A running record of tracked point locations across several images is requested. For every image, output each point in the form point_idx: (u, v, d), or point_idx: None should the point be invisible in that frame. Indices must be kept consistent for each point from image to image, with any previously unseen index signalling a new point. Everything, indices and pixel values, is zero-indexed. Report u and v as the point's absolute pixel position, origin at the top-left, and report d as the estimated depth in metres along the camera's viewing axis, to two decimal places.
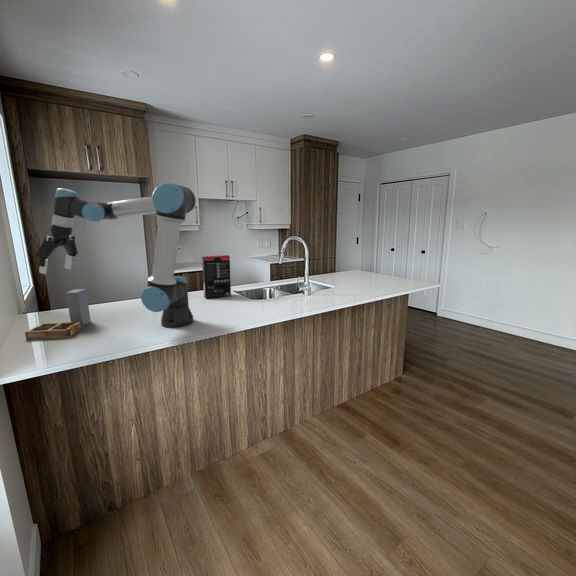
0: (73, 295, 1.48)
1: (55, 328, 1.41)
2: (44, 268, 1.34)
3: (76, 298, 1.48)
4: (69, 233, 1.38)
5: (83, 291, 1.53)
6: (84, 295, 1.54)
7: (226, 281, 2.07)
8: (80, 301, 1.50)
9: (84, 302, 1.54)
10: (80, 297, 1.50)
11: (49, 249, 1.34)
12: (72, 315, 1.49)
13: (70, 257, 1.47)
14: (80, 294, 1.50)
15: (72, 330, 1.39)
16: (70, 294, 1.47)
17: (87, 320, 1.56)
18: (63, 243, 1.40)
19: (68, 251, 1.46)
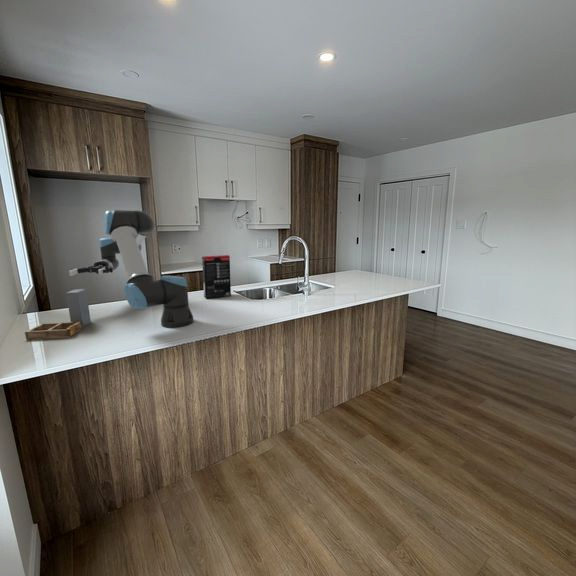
0: (73, 295, 1.48)
1: (55, 328, 1.41)
2: None
3: (76, 298, 1.48)
4: (100, 261, 1.76)
5: (83, 291, 1.53)
6: (84, 295, 1.54)
7: (226, 281, 2.07)
8: (80, 301, 1.50)
9: (84, 302, 1.54)
10: (80, 297, 1.50)
11: None
12: (72, 315, 1.49)
13: None
14: (80, 294, 1.50)
15: (72, 330, 1.39)
16: (70, 294, 1.47)
17: (87, 320, 1.56)
18: (97, 267, 1.72)
19: None
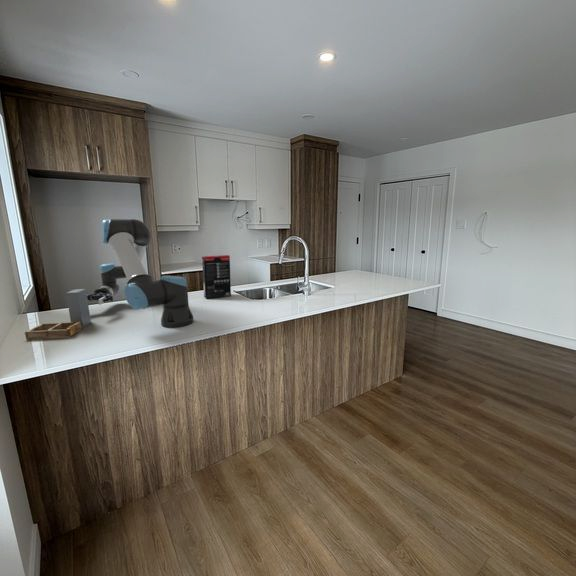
0: (73, 295, 1.48)
1: (55, 328, 1.41)
2: None
3: (76, 298, 1.48)
4: (100, 288, 1.76)
5: (83, 291, 1.53)
6: (84, 295, 1.54)
7: (226, 281, 2.07)
8: (80, 301, 1.50)
9: (84, 302, 1.54)
10: (80, 297, 1.50)
11: None
12: (72, 315, 1.49)
13: None
14: (80, 294, 1.50)
15: (72, 330, 1.39)
16: (70, 294, 1.47)
17: (87, 320, 1.56)
18: (98, 294, 1.72)
19: None
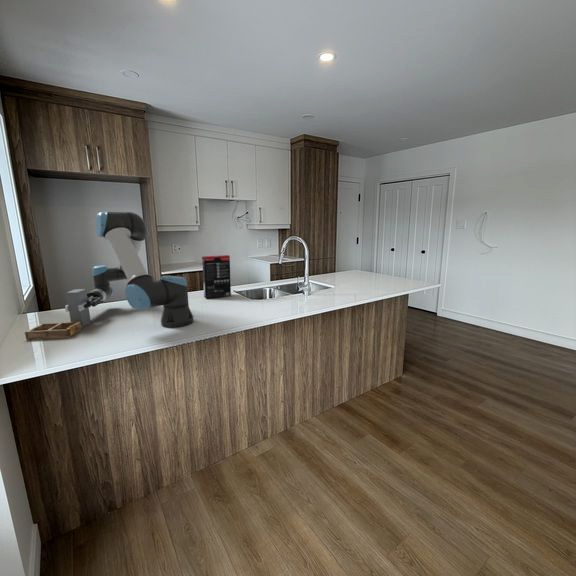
0: (73, 295, 1.48)
1: (55, 328, 1.41)
2: None
3: (76, 298, 1.48)
4: (92, 291, 1.67)
5: (83, 291, 1.53)
6: (84, 295, 1.54)
7: (226, 281, 2.07)
8: (80, 301, 1.50)
9: (84, 302, 1.54)
10: (80, 297, 1.50)
11: None
12: (72, 315, 1.49)
13: None
14: (80, 294, 1.50)
15: (72, 330, 1.39)
16: (70, 294, 1.47)
17: (87, 320, 1.56)
18: None
19: None
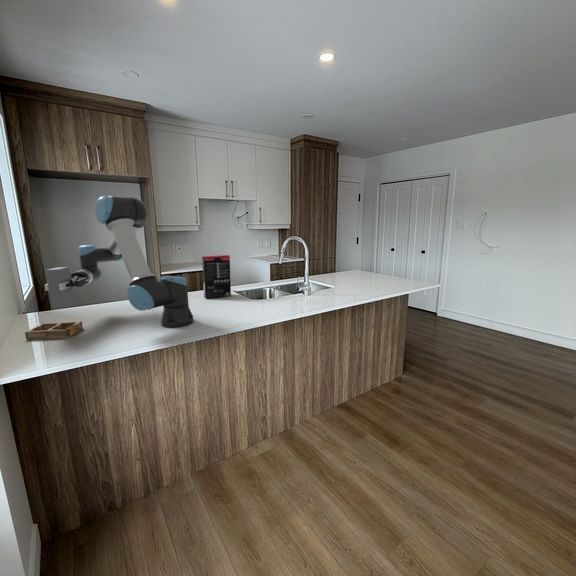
0: (53, 272, 1.36)
1: (55, 328, 1.41)
2: None
3: (57, 276, 1.36)
4: (77, 271, 1.55)
5: (65, 269, 1.41)
6: (66, 273, 1.42)
7: (226, 281, 2.07)
8: (62, 279, 1.38)
9: None
10: (61, 275, 1.38)
11: None
12: (53, 294, 1.37)
13: None
14: (61, 272, 1.38)
15: (72, 330, 1.39)
16: (50, 271, 1.35)
17: (70, 300, 1.44)
18: None
19: None
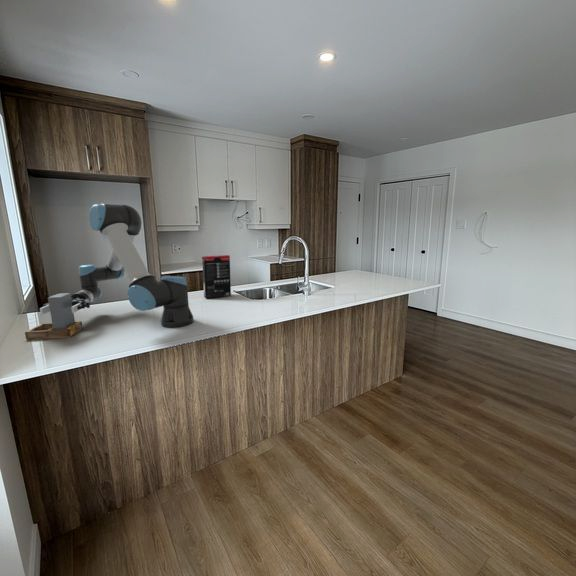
0: (55, 300, 1.35)
1: None
2: None
3: (59, 303, 1.36)
4: (78, 292, 1.54)
5: (67, 295, 1.41)
6: (68, 300, 1.42)
7: (226, 281, 2.07)
8: (64, 306, 1.38)
9: (68, 307, 1.42)
10: (63, 302, 1.38)
11: None
12: (55, 321, 1.37)
13: None
14: (63, 299, 1.38)
15: (72, 330, 1.39)
16: (52, 299, 1.35)
17: None
18: (74, 300, 1.50)
19: None
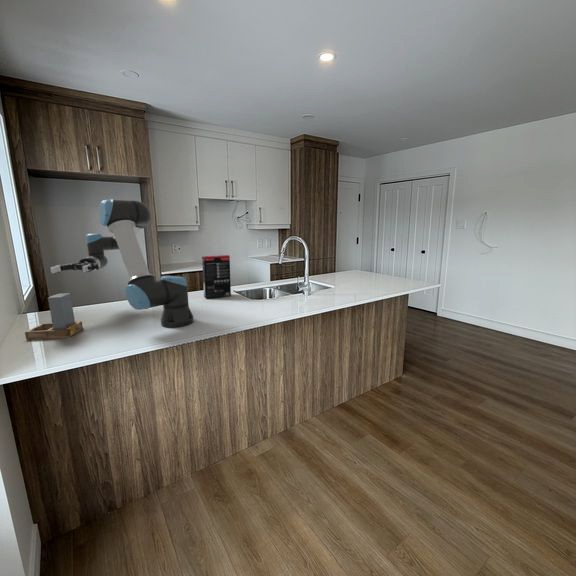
0: (55, 300, 1.35)
1: None
2: None
3: (59, 303, 1.36)
4: (86, 257, 1.64)
5: (67, 295, 1.41)
6: (68, 300, 1.42)
7: (226, 281, 2.07)
8: (64, 306, 1.38)
9: (68, 307, 1.42)
10: (63, 302, 1.38)
11: None
12: (55, 321, 1.37)
13: None
14: (63, 299, 1.38)
15: (72, 330, 1.39)
16: (52, 299, 1.35)
17: None
18: (83, 263, 1.59)
19: None
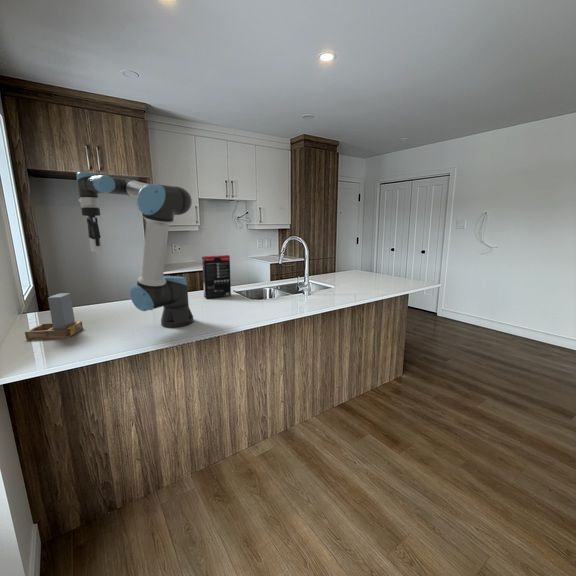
0: (55, 300, 1.35)
1: None
2: (100, 247, 1.48)
3: (59, 303, 1.36)
4: None
5: (67, 295, 1.41)
6: (68, 300, 1.42)
7: (226, 281, 2.07)
8: (64, 306, 1.38)
9: (68, 307, 1.42)
10: (63, 302, 1.38)
11: None
12: (55, 321, 1.37)
13: None
14: (63, 299, 1.38)
15: (72, 330, 1.39)
16: (52, 299, 1.35)
17: None
18: None
19: (92, 233, 1.56)
